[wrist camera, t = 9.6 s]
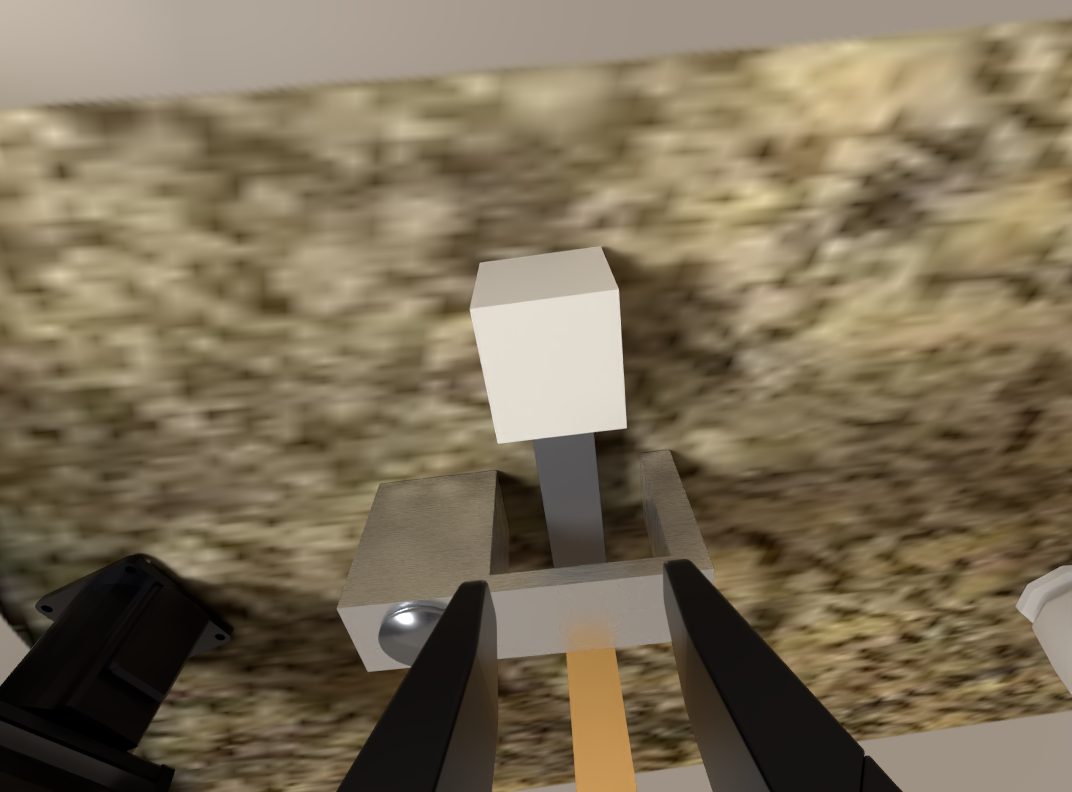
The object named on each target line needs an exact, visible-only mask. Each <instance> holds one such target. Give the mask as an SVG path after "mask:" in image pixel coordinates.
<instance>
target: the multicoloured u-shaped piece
mask: <svg viewBox="0 0 1072 792" xmlns="http://www.w3.org/2000/svg"><path fill="white" fill-rule="evenodd" d="M470 312H471V317H472V322H473V327H474V332H475V336H476V341H477V346H478V351H479V355H480V360H481V365H482V370H483V375H484V379H485V384H486V389H487V394H488V398H489V403H490V408H491V413H492V418H493V422H494V427H495V432H496V437H497V441H498V444H499V443H507V442H516V441H524V440H532V439H533V445H534V451H535V457H536V463H537V469H538V475H539V481H540V487H541V493H542V499H543V505H544V511H545V517H546V523H547V528H548V534H549V540H550V546H551V552H552V558H553V564H554V568H563V567H572V566H581V565H591V564H600V563H606V555H605V545H604V534H603V524H602V513H601V503H600V493H599V482H598V472H597V461H596V451H595V440H594V432H599V431H608V430H616V429H624V428H627V423H626V406H625V389H624V371H623V354H622V336H621V319H620V301H619V288H618V286H617V284H616V281H615V279H614V277H613V274H612V272H611V270H610V267H609V265H608V262H607V260H606V258H605V255H604V253H603V251H602V248H601V246H599V247H591V248H584V249H577V250H570V251H562V252H555V253H548V254H540V255H533V256H526V257H519V258H511V259H504V260H497V261H489V262H482V263H480V265H479V270H478V274H477V279H476V283H475V288H474V292H473V297H472V301H471V306H470ZM566 653H567V667H568V681H569V695H570V709H571V722H572V736H573V750H574V764H575V778H576V791H577V792H637V788H636V782H635V775H634V769H633V762H632V756H631V749H630V743H629V737H628V730H627V724H626V717H625V711H624V704H623V698H622V692H621V685H620V679H619V672H618V666H617V659H616V653H615V647H614V648H604V649H594V650H584V651H574V652H566Z"/></svg>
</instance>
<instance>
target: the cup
mask: <svg viewBox="0 0 1072 792" xmlns="http://www.w3.org/2000/svg"><path fill="white" fill-rule="evenodd" d="M1015 607H1016V608H1017V609H1018V610H1019V611H1020V612H1021V613H1022V614H1023V615H1024V616H1025V617H1027V618H1028V619H1029V620H1030V621H1031V622H1032V623H1033V625H1032V629H1033V631H1034V633H1035V635H1036V636H1037V638H1038V640H1039V642H1040V644H1041V646H1042V648H1043V649H1044V651H1045V653H1046V655H1047V657H1048V659H1049V661H1050V662H1051V664H1052V666H1053V668H1054V670H1055V671H1056V673H1057V674H1058V676H1059V677H1060V679H1061V680H1062V682H1063V683H1064V685H1065V686H1066V688H1067V689H1068V690H1069V692H1070V693H1071V695H1072V565H1067V566H1060V567H1059V568H1057V569H1055V570H1053V571H1051V572H1049V573H1047V574H1046V575H1044V576H1042V577H1040V578H1038V579H1036V580H1034V581H1033V582H1031V583H1029V584H1027V586H1026V588H1025V590H1024V591H1023V593H1022V595H1021V597H1020V599H1019V600H1018V602H1017V604H1016V606H1015Z"/></svg>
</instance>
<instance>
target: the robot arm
mask: <svg viewBox="0 0 1072 792" xmlns="http://www.w3.org/2000/svg"><path fill="white" fill-rule="evenodd" d="M663 598H664V605H665V611H666V616H667V621H668V626H669V631H670V635H671V640H672V645H673V650H674V655H675V660H676V665H677V670H678V674H679V679H680V684H681V689H682V693H683V697H684V702H685V706H686V709H687V712H688V716H689V719H690V723H691V726H692V729H693V732H694V735H695V738H696V741H697V744H698V747H699V750H700V754H701V757H702V760H703V763H704V766H705V769H706V772H707V775H708V778H709V781H710V785H711V788H712V791H713V792H902V790H901V789H900V788H899V787H898V786H896V784H895V783H894V782H893V781H892V780H891V779H890V778H889V777H888V775H887V774H886V773H885V772H884V771H883V770H882V769H881V768H880V767H879V766H878V764H877V763H876V762H875V761H874V760H873V759H872V758H871V757H870V756H865V757H864V754H865V753H864V750H863V748H862V747H861V746H860V745H859V744H858V743H857V742H856V741H855V740H854V738H853V737H852V736H851V735H850V734H849V733H848V732H847V731H846V730H845V729H844V727H843V726H842V725H841V724H840V723H839V722H838V721H837V720H836V719H835V718H834V717H833V715H832V714H831V713H830V712H829V711H828V710H827V709H826V708H825V707H824V706H823V704H822V703H821V702H820V701H819V700H818V699H817V698H816V697H815V696H814V695H813V694H812V692H811V691H810V690H809V689H808V688H807V687H806V686H805V685H804V684H803V683H802V682H801V680H800V679H799V678H798V677H797V676H796V675H795V674H794V673H793V672H792V671H791V669H790V668H789V667H788V666H787V665H786V664H785V663H784V662H783V661H782V660H781V659H780V657H779V656H778V655H777V654H776V653H775V652H774V651H773V650H772V649H771V648H770V646H769V645H768V644H767V643H766V642H765V641H764V640H763V639H762V638H761V637H760V636H759V634H758V633H757V632H756V631H755V630H754V629H753V628H752V627H751V626H750V625H749V623H748V622H747V621H746V620H745V619H744V618H743V617H742V616H741V615H740V614H739V613H738V611H737V610H736V609H735V608H734V607H733V606H732V605H731V604H730V603H729V602H728V601H727V599H726V598H725V597H724V596H723V595H722V594H721V593H720V592H719V591H718V590H717V588H716V587H715V586H714V585H713V584H712V583H711V582H710V581H709V580H708V579H707V578H706V576H705V575H704V574H703V573H702V572H701V571H700V570H699V569H698V568H697V567H696V565H695V564H694V563H693V562H692V561H690V560H688V559H677V560H668V561H665V562H664V564H663ZM35 607H36V609H37V610H38V611H39V612H40V613H42V614H43V615H45V616H46V617H48V618H49V619H51V620H53V621H54V623H53V624H52V625H51V626H50V627H49V629H48V630H47V631H46V632H45V633H44V634H43V636H42V637H41V638H40V639H39V640H38V642H37V643H36V644H35V645H34V646H33V648H32V649H31V650H30V651H29V652H28V654H27V655H26V656H25V657H24V658H23V659H22V661H21V662H20V663H19V664H18V665H17V667H16V668H15V669H14V670H13V671H12V672H11V674H10V675H9V676H8V677H7V678H6V680H5V681H4V682H3V683H2V684H1V686H0V792H168V790H169V787H170V784H171V781H172V778H173V775H174V772H175V769H174V768H172V767H169V766H167V765H165V764H162V765H161V766H160V765H158V764H155V763H153V762H150V761H148V760H146V759H143V758H141V757H139V756H136V755H134V754H133V752H134V750H135V749H136V747H137V746H138V745H139V743H140V741H141V739H142V738H143V736H144V734H145V732H146V730H147V729H148V727H149V725H150V723H151V722H152V720H153V718H154V716H155V715H156V713H157V711H158V709H159V708H160V706H161V704H162V702H163V700H164V699H165V698H166V697H167V695H168V693H169V692H170V690H171V688H172V686H173V684H174V683H175V681H176V679H177V677H178V676H179V674H180V672H181V670H182V669H183V667H184V665H185V663H186V661H187V660H188V658H190V657H193V656H195V655H198V654H200V653H203V652H205V651H208V650H210V649H213V648H215V647H218V646H220V645H223V644H225V643H228V642H229V641H230V639H231V637H232V636H233V633H234V629H233V628H232V627H231V626H229V625H228V624H227V623H226V622H224V621H223V620H222V619H220V618H219V617H218V616H216V615H215V614H214V613H213V612H211V611H210V610H209V609H207V608H206V607H205V606H204V605H202V604H201V603H200V602H198V601H197V600H196V599H194V598H193V597H192V596H191V595H189V594H188V593H187V592H185V591H184V590H183V589H182V588H180V587H179V586H178V585H176V584H175V583H174V582H172V581H171V580H170V579H169V578H167V577H166V576H165V575H163V574H162V573H161V572H160V571H158V570H157V569H156V568H154V567H153V566H152V565H150V564H149V563H148V562H147V561H145V560H144V559H142V558H141V557H138V556H127V557H125V558H123V559H121V560H119V561H116V562H114V563H112V564H110V565H108V566H106V567H104V568H102V569H100V570H97V571H95V572H93V573H91V574H89V575H87V576H85V577H83V578H80V579H78V580H76V581H74V582H72V583H70V584H68V585H66V586H64V587H61V588H59V589H57V590H55V591H53V592H51V593H49V594H47V595H44V596H43V597H42V598H41V599H40V600H39V601H38V602H37V604H36V605H35ZM497 728H498V667H497V620H496V613H495V608H494V605H493V601H492V597H491V593H490V589H489V585H488V583H487V582H486V581H485V580H475V581H466V582H463V583H462V584H460V586H459V587H458V589H457V591H456V592H455V594H454V596H453V597H452V599H451V601H450V602H449V604H448V606H447V607H446V609H445V611H444V612H443V614H442V616H441V617H440V619H439V621H438V622H437V624H436V626H435V627H434V629H433V631H432V632H431V634H430V636H429V637H428V639H427V641H426V642H425V644H424V646H423V647H422V649H421V651H420V652H419V654H418V656H417V657H416V659H415V661H414V662H413V664H412V666H411V668H410V669H409V671H408V673H407V674H406V676H405V678H404V679H403V681H402V683H401V684H400V686H399V688H398V689H397V691H396V693H395V694H394V696H393V698H392V699H391V701H390V703H389V704H388V706H387V708H386V709H385V711H384V713H383V714H382V716H381V718H380V719H379V721H378V723H377V724H376V726H375V728H374V729H373V731H372V733H371V734H370V736H369V738H368V739H367V741H366V743H365V744H364V746H363V748H362V750H361V751H360V753H359V755H358V756H357V758H356V760H355V761H354V763H353V765H352V766H351V768H350V770H349V771H348V773H347V775H346V776H345V778H344V780H343V781H342V783H341V785H340V786H339V788H338V790H337V791H336V792H492V784H493V774H494V763H495V753H496V742H497Z"/></svg>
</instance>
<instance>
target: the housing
mask: <svg viewBox="0 0 1072 792" xmlns="http://www.w3.org/2000/svg"><path fill="white" fill-rule="evenodd" d="M640 460H641V483H642V506H643V518H644V522H645V526H646V530H647V533H648V537H649V541H650V545H651V549H652V552H653V556H654V558H647V559H637V560H628V561H619V562H609V563H600V564H591V565H581V566H572V567H563V568H553V569H544V570H535V571H525V572H516V573H508V565H509V532H510V531H509V526H508V521H507V517H506V512H505V508H504V503H503V498H502V494H501V489H500V485H499V480H498V475H497V471H496V470H495V471H487V472H478V473H470V474H461V475H453V476H444V477H436V478H427V479H419V480H410V481H401V482H393V483H384V484H379V487H378V490H377V493H376V496H375V499H374V502H373V504H372V507H371V510H370V513H369V516H368V519H367V522H366V525H365V528H364V531H363V534H362V536H361V539H360V542H359V545H358V548H357V551H356V554H355V557H354V560H353V563H352V566H351V568H350V571H349V574H348V577H347V580H346V583H345V586H344V589H343V592H342V595H341V598H340V600H339V603H338V606H337V610H338V612H339V614H340V616H341V618H342V620H343V623H344V625H345V627H346V629H347V631H348V633H349V635H350V637H351V639H352V641H353V643H354V645H355V647H356V649H357V651H358V653H359V655H360V657H361V659H362V661H363V663H364V665H365V667H366V669H367V671H368V672H372V671H382V670H392V669H402V668H411V666H412V664H413V662H414V661H415V659H416V657H417V656H418V654H419V652H420V651H421V649H422V647H423V646H424V644H425V642H426V641H427V639H428V637H429V636H430V634H431V632H432V631H433V629H434V627H435V626H436V624H437V622H438V621H439V619H440V617H441V616H442V614H443V612H444V611H445V609H446V607H447V606H448V604H449V602H450V601H451V599H452V597H453V596H454V594H455V592H456V591H457V589H458V587H459V586H460V584H462V583H463V582H466V581H475V580H485V581H486V582H487V583H488V585H489V589H490V593H491V597H492V601H493V605H494V608H495V613H496V620H497V659H503V658H513V657H523V656H533V655H543V654H554V653H564V652H574V651H584V650H594V649H604V648H614V647H624V646H635V645H645V644H655V643H665V642H672V640H671V635H670V631H669V626H668V621H667V616H666V611H665V605H664V598H663V564H664V562H665V561H668V560H677V559H688V560H690V561H692V562H693V563H694V564H695V565H696V567H697V568H698V569H699V570H700V571H701V572H702V573H703V574H704V575H705V576H706V578H707V579H708V580H709V581H710V582H711V583H712V584H714V567H713V564H712V562H711V559H710V556H709V554H708V551H707V548H706V546H705V543H704V540H703V538H702V535H701V532H700V530H699V527H698V524H697V522H696V519H695V517H694V514H693V511H692V509H691V506H690V503H689V501H688V498H687V495H686V493H685V490H684V487H683V485H682V482H681V479H680V477H679V474H678V471H677V469H676V466H675V463H674V461H673V458H672V456H671V453H670V450H666V451H658V452H649V453H641V454H640Z"/></svg>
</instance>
